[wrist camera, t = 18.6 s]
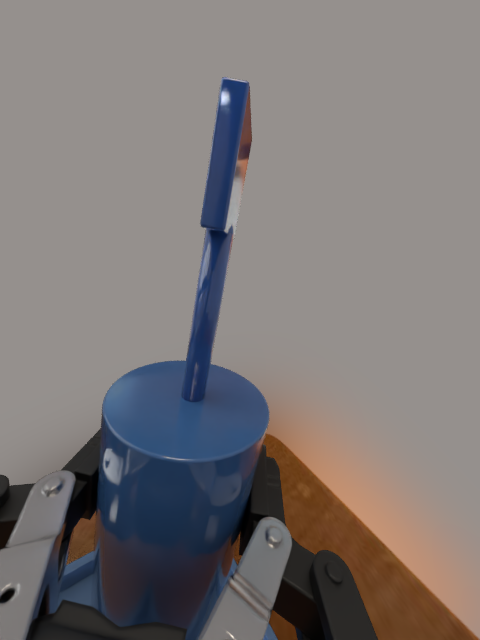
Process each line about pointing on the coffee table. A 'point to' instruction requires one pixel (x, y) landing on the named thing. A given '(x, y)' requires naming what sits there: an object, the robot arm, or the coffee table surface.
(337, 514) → the coffee table surface
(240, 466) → the blue pot
